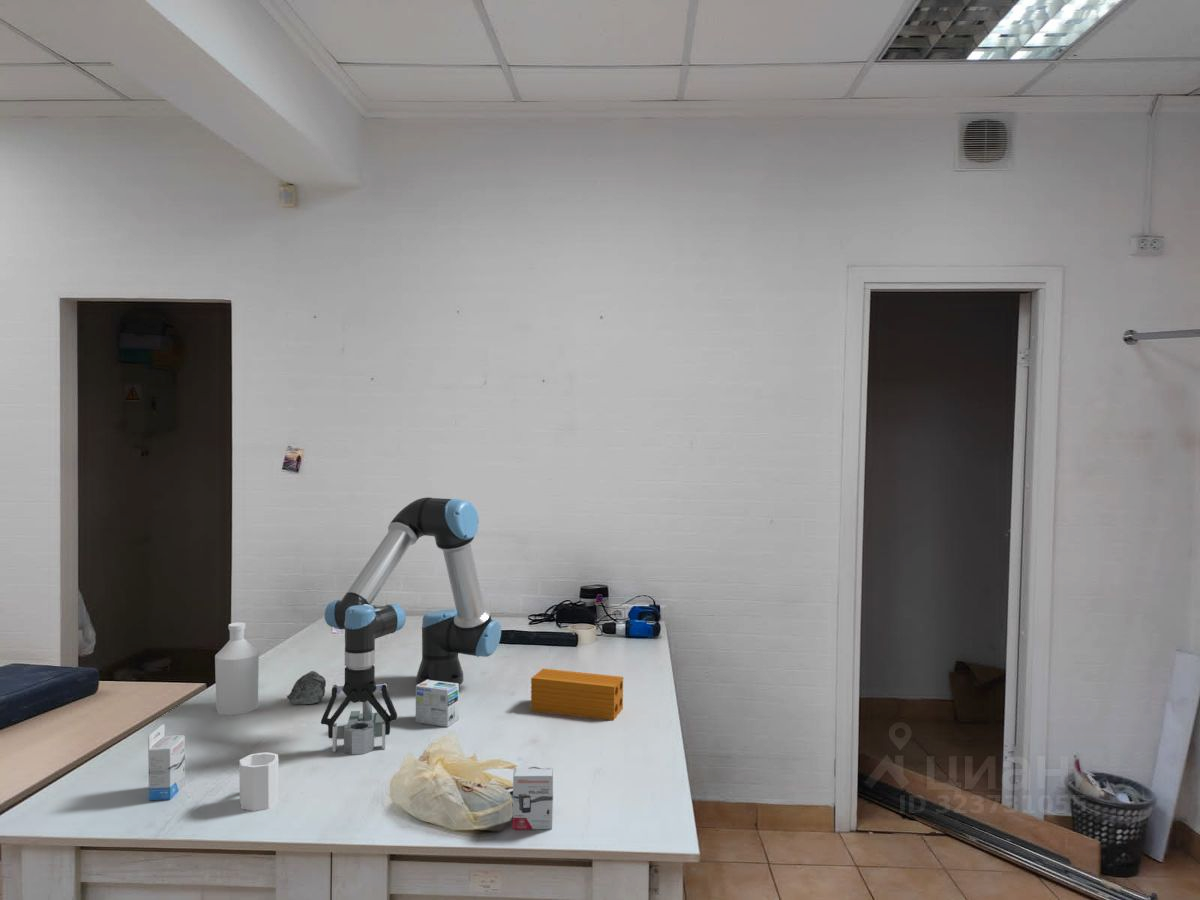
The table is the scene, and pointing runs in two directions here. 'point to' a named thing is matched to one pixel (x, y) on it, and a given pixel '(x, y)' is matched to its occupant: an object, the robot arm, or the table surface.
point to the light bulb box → (437, 703)
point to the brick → (577, 694)
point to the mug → (259, 781)
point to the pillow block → (368, 718)
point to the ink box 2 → (532, 797)
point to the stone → (308, 689)
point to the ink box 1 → (165, 764)
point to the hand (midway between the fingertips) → (359, 748)
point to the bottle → (236, 674)
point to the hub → (359, 737)
